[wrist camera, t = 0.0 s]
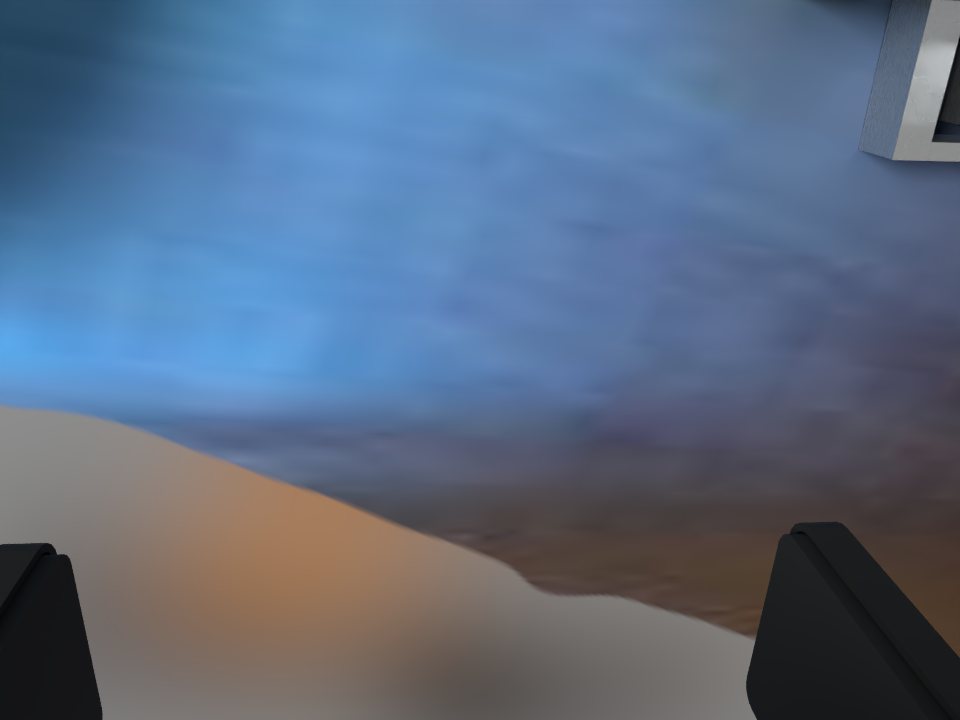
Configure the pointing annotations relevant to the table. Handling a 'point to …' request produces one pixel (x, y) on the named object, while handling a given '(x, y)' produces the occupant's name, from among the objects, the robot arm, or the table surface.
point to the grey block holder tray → (913, 83)
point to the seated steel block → (952, 93)
